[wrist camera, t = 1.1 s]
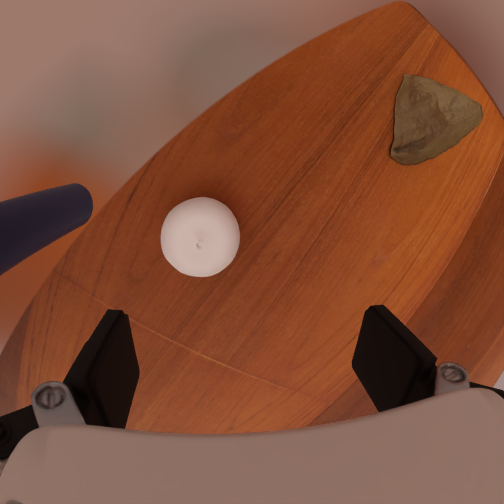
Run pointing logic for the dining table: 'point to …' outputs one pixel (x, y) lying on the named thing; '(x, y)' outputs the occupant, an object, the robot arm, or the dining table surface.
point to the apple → (200, 237)
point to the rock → (430, 119)
